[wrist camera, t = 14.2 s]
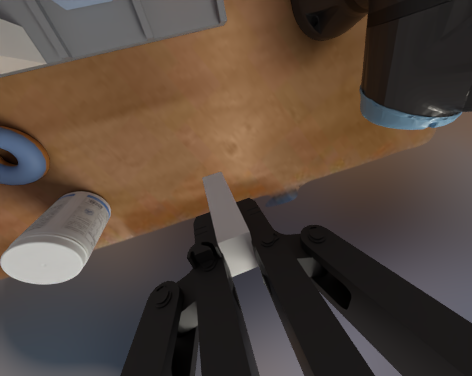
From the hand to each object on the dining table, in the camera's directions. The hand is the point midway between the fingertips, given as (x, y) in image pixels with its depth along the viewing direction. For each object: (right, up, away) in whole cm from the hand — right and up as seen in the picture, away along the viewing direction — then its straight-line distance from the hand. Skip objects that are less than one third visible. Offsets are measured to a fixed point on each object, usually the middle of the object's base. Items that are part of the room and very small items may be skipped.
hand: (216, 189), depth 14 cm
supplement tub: (-31, -4, +25) cm, 40 cm away
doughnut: (-37, +6, +17) cm, 41 cm away
